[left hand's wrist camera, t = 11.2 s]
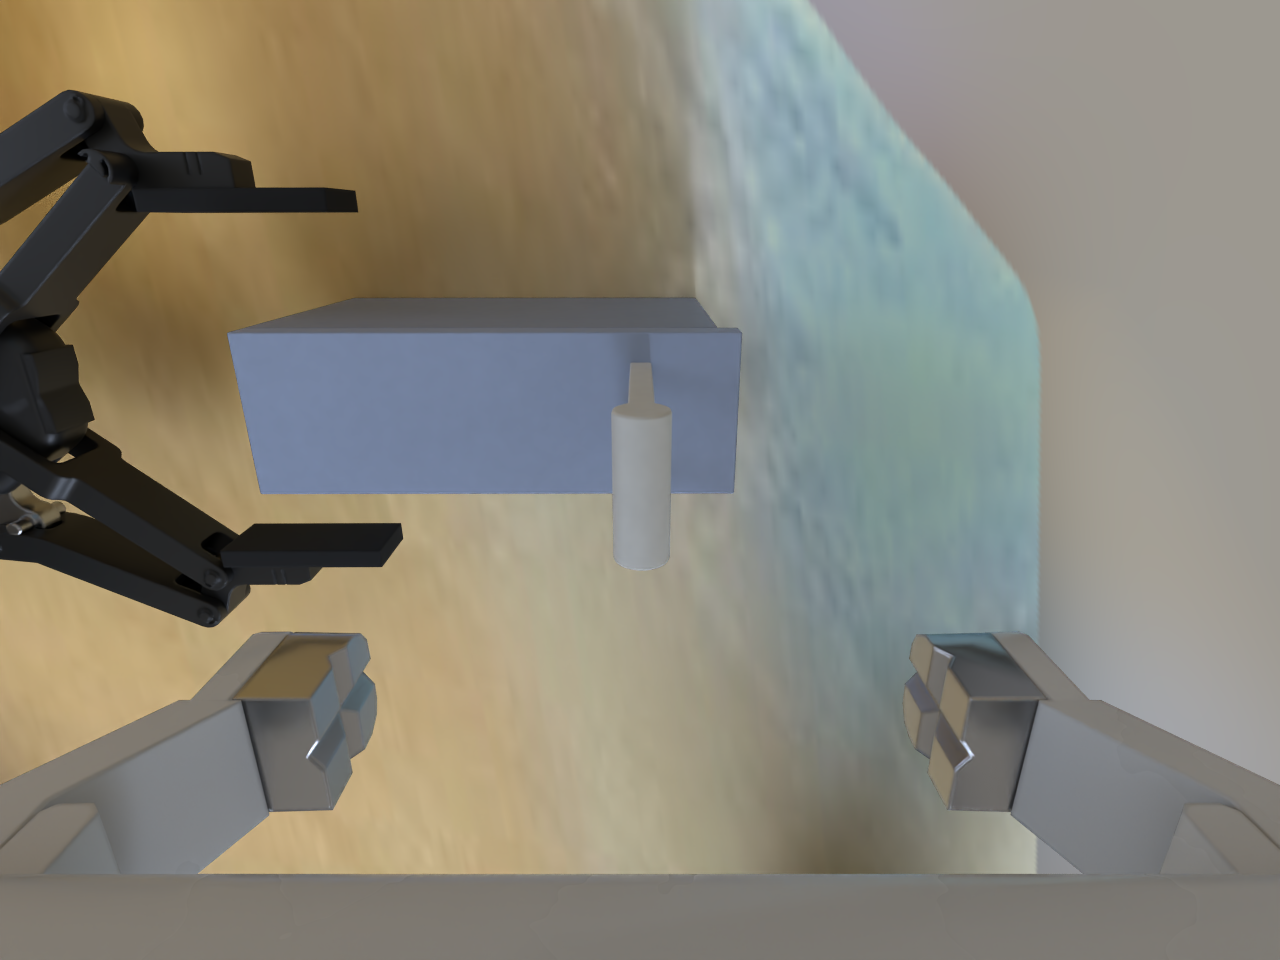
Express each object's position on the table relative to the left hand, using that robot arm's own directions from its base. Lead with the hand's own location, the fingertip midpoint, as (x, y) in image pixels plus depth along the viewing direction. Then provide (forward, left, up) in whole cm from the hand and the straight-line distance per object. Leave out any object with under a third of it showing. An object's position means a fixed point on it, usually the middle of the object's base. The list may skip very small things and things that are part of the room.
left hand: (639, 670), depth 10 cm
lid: (+3, +4, -15) cm, 16 cm away
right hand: (+6, +8, -18) cm, 21 cm away
